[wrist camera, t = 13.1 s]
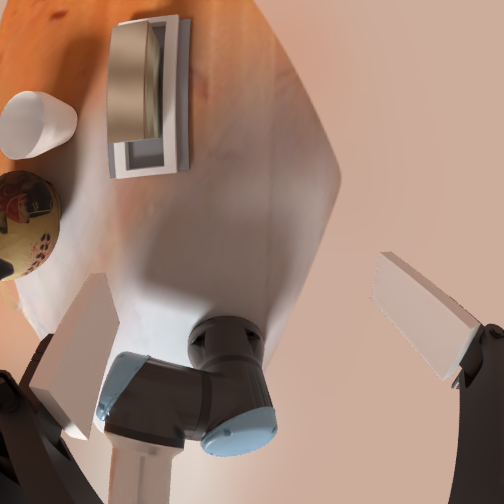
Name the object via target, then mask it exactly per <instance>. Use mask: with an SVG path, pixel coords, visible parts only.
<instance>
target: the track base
mask: <svg viewBox="0 0 504 504" xmlns="http://www.w3.org/2000/svg"><path fill="white" fill-rule="evenodd" d="M146 20H148V22H149V24H150V26H151V28H152V30H153V32H154V34H155V36H156V39H157V41H158V43H159V45H160V47H161V62H160V138H158V139H149V140H140V141H133V142H121V143H111V144H108V158H109V171H110V178H116V179H122V178H130V177H139V176H148V175H158V174H169V173H177V171H187V170H189V169H190V168H189V132H188V81H189V47H190V28H191V19H180V20H179V16H178V14H177V15H167V16H159V17H151V18H145V19H139V20H133V21H128V22H123V23H119V24H118V26H119V25H124V24H129V23H134V22H140V21H146ZM111 37H112V33H111ZM110 46H111V41H110ZM109 57H110V51H109ZM108 71H109V63H108ZM107 96H108V80H107ZM107 140H108V124H107Z"/></svg>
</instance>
